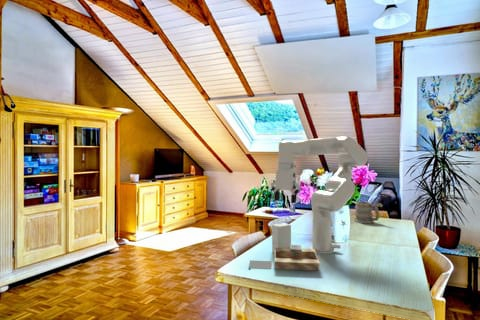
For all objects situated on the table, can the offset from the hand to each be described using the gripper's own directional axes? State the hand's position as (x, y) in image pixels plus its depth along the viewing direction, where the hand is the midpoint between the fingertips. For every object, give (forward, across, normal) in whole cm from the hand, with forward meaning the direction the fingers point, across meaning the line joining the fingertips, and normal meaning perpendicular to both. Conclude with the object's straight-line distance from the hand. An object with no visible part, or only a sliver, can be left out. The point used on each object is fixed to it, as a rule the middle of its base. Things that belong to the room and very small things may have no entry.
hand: (285, 201), depth 161 cm
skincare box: (+28, +5, -6) cm, 29 cm away
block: (+27, -10, +5) cm, 29 cm away
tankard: (+26, 0, -109) cm, 112 cm away
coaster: (+28, +2, +16) cm, 32 cm away
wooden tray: (+28, -10, +5) cm, 30 cm away
